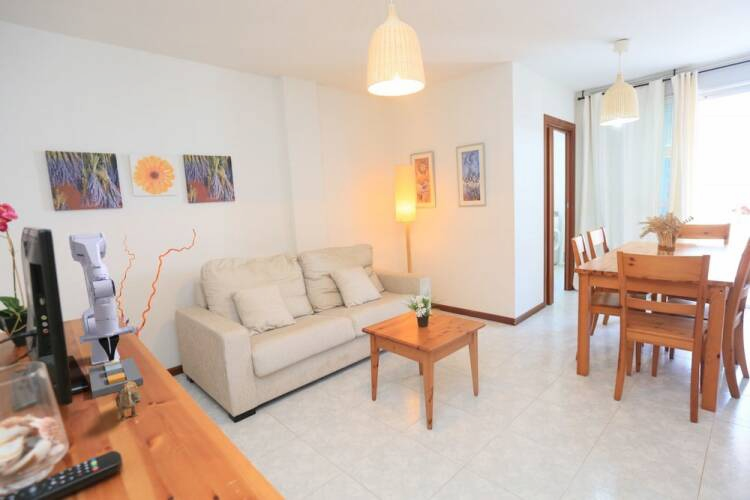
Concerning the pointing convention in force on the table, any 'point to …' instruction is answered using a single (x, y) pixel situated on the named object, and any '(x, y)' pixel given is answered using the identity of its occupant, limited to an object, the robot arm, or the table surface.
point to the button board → (101, 383)
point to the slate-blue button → (114, 370)
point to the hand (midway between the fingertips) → (111, 359)
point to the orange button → (116, 378)
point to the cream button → (111, 362)
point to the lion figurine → (128, 399)
